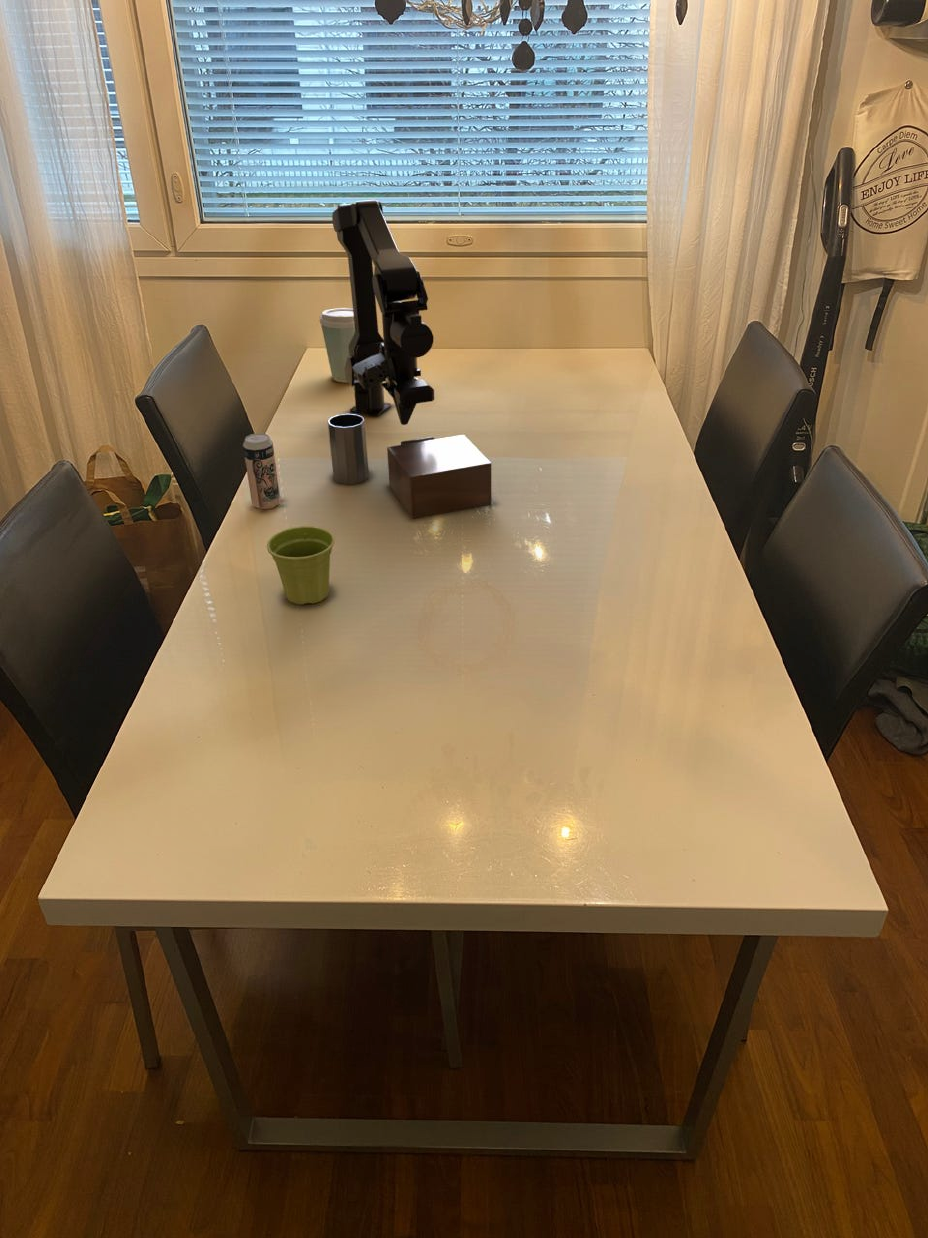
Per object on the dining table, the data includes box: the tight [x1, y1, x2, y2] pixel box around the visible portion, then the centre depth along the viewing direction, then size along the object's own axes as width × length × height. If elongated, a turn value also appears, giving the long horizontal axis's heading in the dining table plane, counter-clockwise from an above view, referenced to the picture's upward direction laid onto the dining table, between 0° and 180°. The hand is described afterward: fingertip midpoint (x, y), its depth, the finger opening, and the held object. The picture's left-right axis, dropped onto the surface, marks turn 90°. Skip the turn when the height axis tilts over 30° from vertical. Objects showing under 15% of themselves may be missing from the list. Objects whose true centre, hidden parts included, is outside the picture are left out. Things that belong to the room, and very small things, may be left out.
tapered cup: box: [327, 413, 370, 485], centre depth 169 cm, size 6×6×11 cm
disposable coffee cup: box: [318, 307, 355, 383], centre depth 211 cm, size 11×11×15 cm
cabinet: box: [386, 434, 492, 519], centre depth 162 cm, size 13×14×8 cm
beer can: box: [242, 432, 281, 510], centre depth 159 cm, size 5×5×12 cm
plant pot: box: [266, 525, 335, 606], centre depth 136 cm, size 9×9×9 cm
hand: (404, 423), depth 176 cm, fingers closed
